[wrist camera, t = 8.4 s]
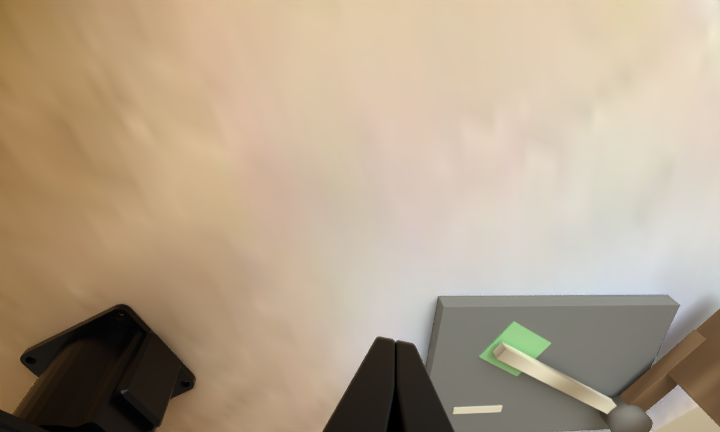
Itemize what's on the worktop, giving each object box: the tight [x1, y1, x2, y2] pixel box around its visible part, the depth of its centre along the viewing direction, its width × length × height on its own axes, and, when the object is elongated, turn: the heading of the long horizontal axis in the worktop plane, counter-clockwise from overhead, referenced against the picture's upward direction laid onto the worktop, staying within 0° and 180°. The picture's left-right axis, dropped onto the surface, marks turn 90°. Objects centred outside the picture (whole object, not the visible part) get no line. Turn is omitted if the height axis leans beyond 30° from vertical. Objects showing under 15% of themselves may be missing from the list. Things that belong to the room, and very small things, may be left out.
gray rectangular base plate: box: [426, 295, 680, 432], centre depth 28 cm, size 14×10×1 cm
